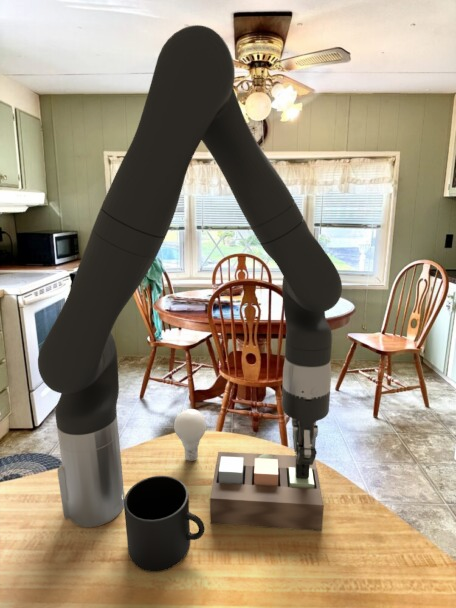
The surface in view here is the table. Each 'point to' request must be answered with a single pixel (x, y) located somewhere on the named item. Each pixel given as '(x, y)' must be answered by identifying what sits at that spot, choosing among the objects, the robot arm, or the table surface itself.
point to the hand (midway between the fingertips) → (301, 475)
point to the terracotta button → (266, 472)
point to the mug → (159, 523)
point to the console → (266, 498)
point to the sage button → (298, 481)
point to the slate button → (231, 470)
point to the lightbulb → (190, 431)
